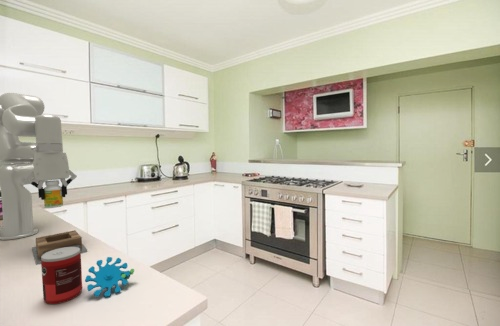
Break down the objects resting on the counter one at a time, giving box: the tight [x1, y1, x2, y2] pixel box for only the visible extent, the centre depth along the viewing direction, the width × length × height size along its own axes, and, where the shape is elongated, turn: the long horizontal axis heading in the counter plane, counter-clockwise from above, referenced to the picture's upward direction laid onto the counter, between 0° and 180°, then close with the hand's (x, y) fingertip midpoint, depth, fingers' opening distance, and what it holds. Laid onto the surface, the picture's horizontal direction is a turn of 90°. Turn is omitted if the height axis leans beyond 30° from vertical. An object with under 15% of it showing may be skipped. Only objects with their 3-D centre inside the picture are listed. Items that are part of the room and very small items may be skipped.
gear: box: [84, 256, 135, 298], centre depth 65 cm, size 11×6×10 cm
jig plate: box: [31, 243, 88, 265], centre depth 90 cm, size 18×14×3 cm
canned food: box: [40, 247, 83, 305], centre depth 61 cm, size 8×8×11 cm
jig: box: [35, 229, 83, 258], centre depth 90 cm, size 12×12×4 cm
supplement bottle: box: [43, 179, 64, 209], centre depth 91 cm, size 5×5×10 cm
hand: (53, 197), depth 91 cm, fingers closed on supplement bottle, 5 cm apart
